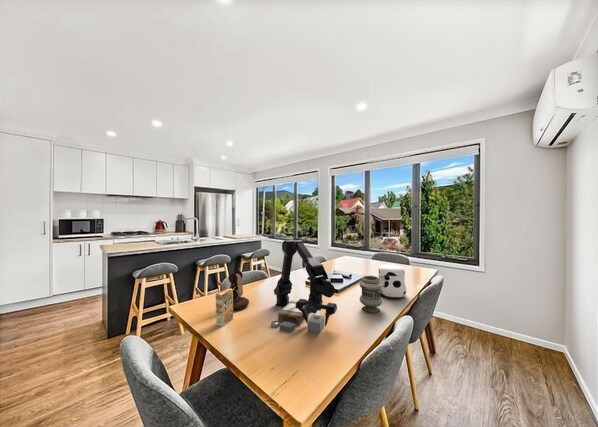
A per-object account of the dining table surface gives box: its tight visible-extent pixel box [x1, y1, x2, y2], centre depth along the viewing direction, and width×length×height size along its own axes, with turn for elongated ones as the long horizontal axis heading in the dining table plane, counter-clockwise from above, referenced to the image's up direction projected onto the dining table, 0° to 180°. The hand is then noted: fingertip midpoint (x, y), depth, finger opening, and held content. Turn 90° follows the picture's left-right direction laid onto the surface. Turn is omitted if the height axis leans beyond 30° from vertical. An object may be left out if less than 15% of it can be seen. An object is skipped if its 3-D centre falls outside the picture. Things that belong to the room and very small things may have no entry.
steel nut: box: [270, 320, 280, 328], centre depth 112 cm, size 4×4×2 cm
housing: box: [306, 312, 325, 334], centre depth 109 cm, size 6×8×6 cm
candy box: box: [215, 288, 234, 327], centre depth 116 cm, size 9×4×15 cm, turn 162°
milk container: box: [378, 264, 407, 299], centre depth 150 cm, size 17×17×18 cm
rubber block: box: [279, 320, 296, 333], centre depth 109 cm, size 6×4×2 cm, turn 65°
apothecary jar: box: [359, 275, 384, 315], centre depth 128 cm, size 12×12×18 cm
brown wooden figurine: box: [227, 269, 250, 311], centre depth 135 cm, size 15×15×20 cm
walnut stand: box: [277, 300, 310, 326], centre depth 122 cm, size 12×16×4 cm
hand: (316, 324), depth 110 cm, fingers open, 9 cm apart
